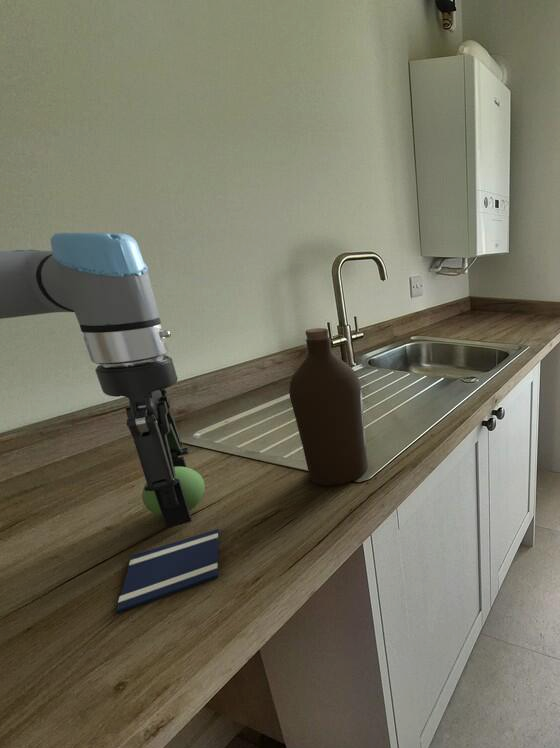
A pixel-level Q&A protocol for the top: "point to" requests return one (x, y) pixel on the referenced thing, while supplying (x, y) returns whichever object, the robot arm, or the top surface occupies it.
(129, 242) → the robot arm
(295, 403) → the olive oil
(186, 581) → the towel
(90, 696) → the top surface
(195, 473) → the mango
